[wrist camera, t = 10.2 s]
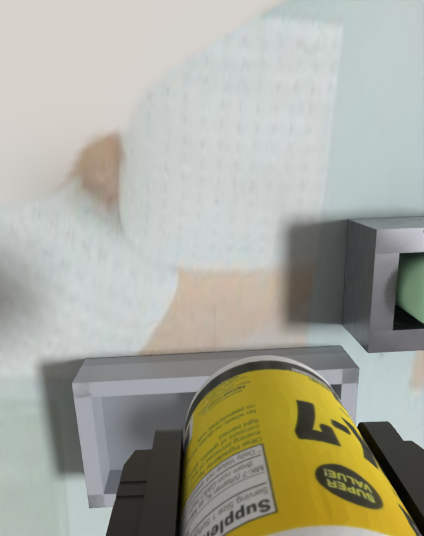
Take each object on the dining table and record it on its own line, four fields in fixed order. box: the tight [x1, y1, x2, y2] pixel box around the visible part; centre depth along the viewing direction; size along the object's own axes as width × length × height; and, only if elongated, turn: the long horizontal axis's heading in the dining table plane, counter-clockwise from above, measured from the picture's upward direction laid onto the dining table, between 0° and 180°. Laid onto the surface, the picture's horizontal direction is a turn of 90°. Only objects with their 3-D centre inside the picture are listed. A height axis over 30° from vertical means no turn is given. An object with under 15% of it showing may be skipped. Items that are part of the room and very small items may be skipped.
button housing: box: [342, 216, 424, 353], centre depth 23 cm, size 7×7×4 cm
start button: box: [395, 252, 424, 323], centre depth 22 cm, size 4×4×4 cm
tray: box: [72, 346, 359, 508], centre depth 26 cm, size 17×9×3 cm, turn 92°
